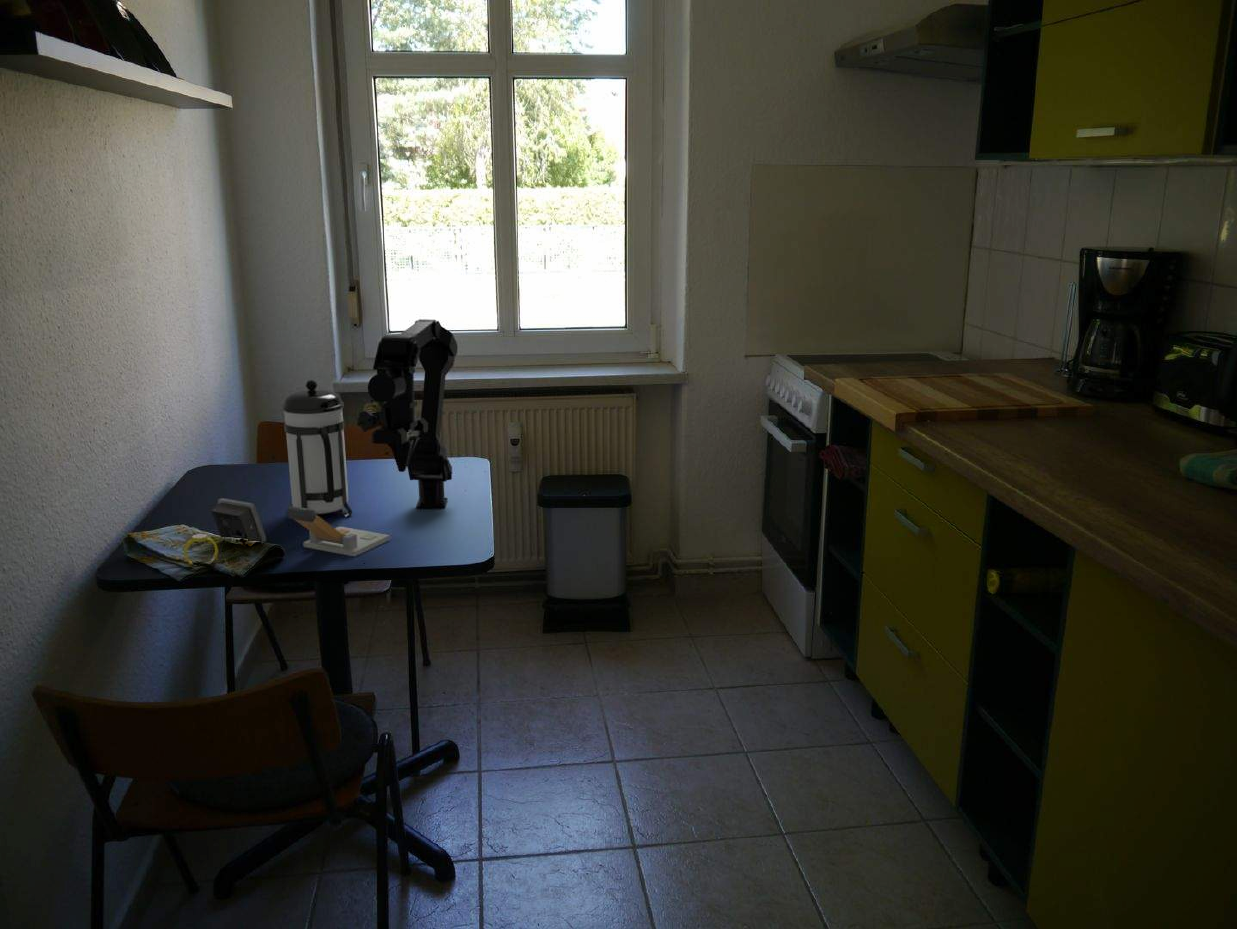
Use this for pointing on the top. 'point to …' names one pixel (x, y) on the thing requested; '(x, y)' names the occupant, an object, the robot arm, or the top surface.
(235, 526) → the electrical switch
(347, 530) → the switch base
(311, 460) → the coffee press
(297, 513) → the lever
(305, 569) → the top surface
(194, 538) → the watch
